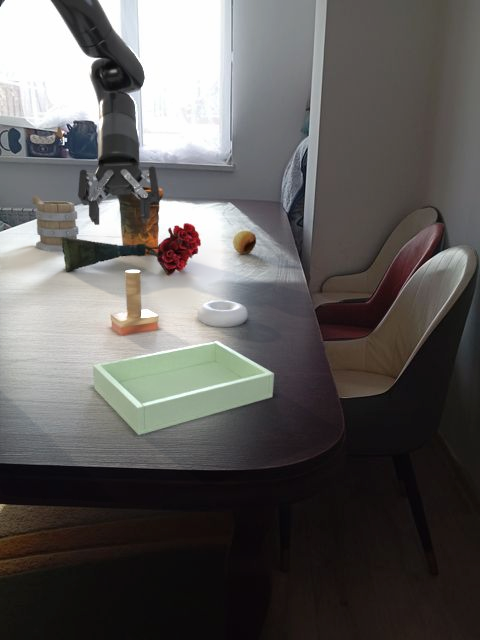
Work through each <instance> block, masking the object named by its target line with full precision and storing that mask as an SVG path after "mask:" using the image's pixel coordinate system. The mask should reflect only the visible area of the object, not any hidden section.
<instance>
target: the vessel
mask: <svg viewBox="0 0 480 640" xmlns="http://www.w3.org/2000/svg"><path fill="white" fill-rule="evenodd" d="M141 187H142V188H143V189H144V190H145V191H146V192H147V193H148V192H151V186H141ZM158 188H159V197H160V200H159V201H158V202H155V201H153V202H151V203H150V218H149V219H147V222H142V219H141V209H140V199H139V198H137V197H136V196H135V195H134V194H133V193H132V192H131V193H129V195H123V194H119V195H115V196H116V198H117V201H118V204H119V213H120V232H121V241H122V245H137V244H145V245H147V246H149V247H157V246H159V232H160V231H159V230H160V226H159V223H160V222H159V220H160V215H159V212H160V202H161V200H162V198H163V197H164V191H163V189H162V188H160V187H158ZM145 250H146V252H147V251H148V250H147V249H145ZM153 250H154V251H155V252H156V253H158V249H153ZM149 253H150V252H149ZM145 256H151V255H150V254H145Z"/></svg>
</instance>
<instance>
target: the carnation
mask: <svg viewBox="0 0 480 640" xmlns="http://www.w3.org/2000/svg"><path fill="white" fill-rule="evenodd" d="M167 230H168V234H169V237H166V238H165V239H163V240H162V241H161V242H160V243H158V246H157V247H149V246H147V245H145V244H137V245H123V244H120V245H118V244H113V243H106V242H99V241H92V240H88V239H81V238H80V239H79V238H77V239H75V238H68V237H61V238H62V248H63V251H62V253H63V259H64V260H63V261H64V265H65V266H64V268H65V271H66V272H71V271H74V270H75V271H76V270H78V269H80V268H81V269H82V268H86V267H88V266H92V265H95V264H98V263H102V262H105V261H110V260H114V259H119V258H120V257H122V258H123V257H131V256H138V257H145V256H146V255H145V254H150V255H149V256H153V257H156V260H157V262H158V264H159V265H160V267H161V268H162V270H163V271H164V272H165V274H166V276H168V275H171V274H174V273H175V272H176V271H177V272H182V271H183V270H184V269H185V268H186V266H187V265H188V260H189V259H193V256H194V255H198V253H199V247H201V245H202V243H201V238H200V234H199V232H198V231H197V230H196V227H195V225H194V224H192V223H189V222H187V223H186V222H185V223H183V227H181V226H179V225H174V226H173V230H172V227H169V228H168V229H167ZM145 249H147V250H148V251H147V252H146V250H145ZM153 249H158V253H156V252H155V251H154V250H153ZM149 252H150V253H149Z"/></svg>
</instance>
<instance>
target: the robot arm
mask: <svg viewBox="0 0 480 640" xmlns="http://www.w3.org/2000/svg"><path fill="white" fill-rule="evenodd" d="M7 2H8V0H0V13H1V12H2V10H3V8H4V7H5V5H6V3H7ZM50 2H51V3H52V5H53V6H54V8H55V9H56V11H57V12H58V14H59V15H60V17H61V19H62V20H63V22H64V23H65V25H66V27H67V28H68V30H69V32H70V33H71V35H72V37H73V39H74V40H75V42H76V43H77V45H78V47H79V48H80V50H81V51H82V52H83V54H84V55H86V56H87V57H88V58H92V59H96V60H94V61H93V62H92V63H91V65H90V67H89V79H90V82H91V85H92V87H93V89H94V93H95V96H96V100H97V104H98V130H97V169H96V171H95V172H87V170H86V169H81V170H79V177H78V190H77V191H78V192H77V197H78V198H79V201H80V202H81V204H82V206H88V217H89V219H90V221H91V222H92V223H93V224H94V225H95V226H100V205H101V203H103V201H106V200H107V199H108V197H109V196H110V195H111V196H112V197H113V196H116V195H119V194H123V195H129V193H131V192H132V193H133V194H134V195H135V196H136V197H137V198H139V199H140V209H141V219H142V222H147V219H149V218H150V203H151V202H153V201H155V202H158V201H159V200H160V197H159V188H160V187H159V179H158V174H157V169H156V167H155V166H153V165H152V166H150V167H148V169H144V170H143V169H142V170H141V167H140V166H141V165H140V145H141V144H140V136H139V130H138V111H137V110H138V109H137V104H136V101H135V100H134V97H132V96H131V95H130V94H131V93H135V92H139V91H140V90H143V87H144V86H145V83H146V71H145V67H144V65H143V63H142V62H141V60H140V58H139V57H138V55H137V54H136V53H135V52H134V50H133V49H132V48H131V47H130V46H129V45H128V44H127V43H126V42H125V41H124V39H122V38H121V36H120V35H119V34H118V33H117V32H116V30H115V28H114V27H113V25H112V24H111V21H110V20H109V18H108V16H107V14H106V12H105V10H104V8H103V6H102V4H101V3H100V1H99V0H50ZM143 179H145V180H146V182H147V183H148V184H150V185H149V187H151V192H148V193H147V192H146V191H145V190H144V189H143V188H142V187H143V186H141V184H140V183H141V182H142V181H143ZM95 181H97V183H96V185H95V186H94V189H93V191H92V192H91V193H90V188H91V186H93V184H94V182H95ZM160 201H161V200H160Z"/></svg>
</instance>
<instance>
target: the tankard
mask: <svg viewBox="0 0 480 640" xmlns="http://www.w3.org/2000/svg"><path fill="white" fill-rule="evenodd" d="M30 202H31V204H33V205H36V210H35V211H34V212H35V219H36V232H37V233H36V234H37V235H38V236H39V238H40V240H39V241H37V242H36V243H35V247H36V248H37V249H40V250H43V251H56V252H57V251H59V252H63V248H62V238H61V237H68V238H75V239H78V237H77V235H79V226H77V223H76V220H77V219H78V211H77V210H76V208H75V203H74V202H71V201H59V200H47V201H46V200H45V201H44V200H43V201H42V200H41V199H40V197H39V196H38V195H34V196H33V197H32V198H31V199H30Z"/></svg>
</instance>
